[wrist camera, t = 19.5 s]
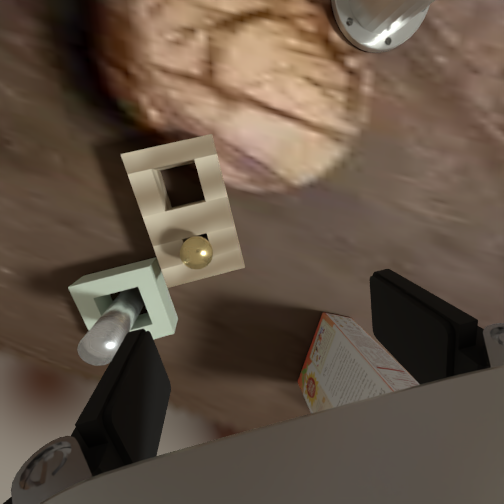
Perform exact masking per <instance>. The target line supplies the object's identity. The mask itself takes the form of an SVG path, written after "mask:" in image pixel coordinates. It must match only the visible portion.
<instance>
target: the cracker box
mask: <svg viewBox="0 0 504 504" xmlns="http://www.w3.org/2000/svg"><path fill="white" fill-rule="evenodd" d="M298 384H299V386H300V389H301V391H302V393H303V396H304V398H305V400H306V403H307V405H308V407H309V410H310V412H311V413H315V412H319V411H322V410H326V409H330V408H333V407H337V406H341V405H345V404H348V403H352V402H356V401H360V400H363V399H367V398H371V397H375V396H378V395H382V394H386V393H390V392H394V391H397V390H401V389H405V388H409V387H413V386H416V385H420V384H419V383H418V382H417V381H416V380H415V379H414V378H413V377H412V376H411V375H410V373H409V372H408V371H406V370H405V369H404V368H403V367H402V366H401V365H400V364H399V363H398V362H397V361H396V360H395V359H394V358H393V357H392V356H391V355H390V354H389V353H388V352H387V351H386V350H384V349H383V348H382V347H381V346H380V345H379V344H378V343H377V342H376V341H375V340H374V339H373V338H372V337H371V336H370V335H369V334H368V333H367V332H366V331H365V330H364V329H363V328H362V327H361V326H359V325H358V324H357V323H356V322H355V321H354V320H353V319H352V318H350V317H345V316H340V315H335V314H329V313H324V312H323V313H322V315H321V318H320V321H319V324H318V326H317V329H316V332H315V335H314V337H313V340H312V343H311V346H310V349H309V351H308V354H307V357H306V360H305V362H304V365H303V368H302V371H301V373H300V376H299V379H298Z"/></svg>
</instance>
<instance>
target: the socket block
mask: <svg viewBox="0 0 504 504" xmlns="http://www.w3.org/2000/svg"><path fill="white" fill-rule="evenodd" d="M121 157H122V160H123V163H124V166H125V169H126V171H127V174H128V177H129V180H130V183H131V186H132V188H133V191H134V194H135V197H136V200H137V203H138V205H139V208H140V211H141V214H142V217H143V220H144V222H145V225H146V228H147V231H148V234H149V237H150V239H151V242H152V245H153V248H154V251H155V254H156V256H157V259H158V262H159V265H160V268H161V271H162V273H163V276H164V279H165V282H166V285H167V288H169V287H172V286H176V285H180V284H184V283H188V282H191V281H195V280H199V279H203V278H207V277H210V276H214V275H218V274H222V273H226V272H229V271H233V270H237V269H241V268H245V265H244V261H243V257H242V253H241V249H240V245H239V241H238V237H237V233H236V229H235V225H234V221H233V217H232V213H231V209H230V205H229V201H228V197H227V193H226V189H225V185H224V180H223V176H222V172H221V168H220V164H219V160H218V156H217V152H216V148H215V144H214V140H213V136H212V134H210V135H205V136H201V137H196V138H192V139H187V140H183V141H178V142H174V143H169V144H165V145H160V146H155V147H151V148H146V149H142V150H137V151H133V152H128V153H124V154H121ZM191 163H195V164H196V168H197V171H198V175H199V179H200V182H201V186H202V190H203V193H204V197H205V199H204V200H200V201H196V202H192V203H188V204H184V205H179V206H175V207H172V206H171V203H170V200H169V197H168V194H167V191H166V187H165V184H164V181H163V178H162V175H161V172H160V171H161V170H165V169H170V168H174V167H178V166H183V165H187V164H191ZM205 233H207V236H208V240H209V242H210V244H211V245H212V249H213V257H212V260H211V262H210V263H209V265H207V266H206V267H205V268H202V269H191V268H188V267H187V266H185V265H184V264H183V262H182V261H181V258H180V249H181V247H182V245H183V243H184V242H185V240H187V239H188V238H189V237H193V236H197V235H201V234H205Z"/></svg>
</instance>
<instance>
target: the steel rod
mask: <svg viewBox="0 0 504 504" xmlns="http://www.w3.org/2000/svg"><path fill="white" fill-rule="evenodd" d="M144 305H145V303H144V301H143V298H142V296H141V293H140V290H139V288H138V287H135V288H131V289H127V290H123V291H122V292H121V293H120V294H119V295H118V297H117V298H116V299H115V300H114V301H113V303H112V304H111V305H110V306H109V307H108V309H107V310H106V311H105V312H104V313H103V315H102V316H101V317H100V318H99V319H98V321H97V322H96V323H95V324H94V325H93V327H92V328H91V329H90V330H89V331H88V333H87V334H86V335H85V336H84V337H83V339H82V340H81V341H80V343H79V345H78V354H79V356H80V357H81V358H82V360H84V361H85V362H87V363H89V364H91V365H105V364H108V363H109V362H111V361H112V359H113V357H114V355H115V354H116V352H117V350H118V348H119V347H120V345H121V343H122V341H123V340H124V338H125V336H126V334H127V333H128V332H129V331H130V330H131V328H132V326H133V324H134V322H135V321H136V319H137V317H138V315H139V313H140V312H141V310H142V308H143V306H144Z"/></svg>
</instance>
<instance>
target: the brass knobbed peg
mask: <svg viewBox="0 0 504 504" xmlns="http://www.w3.org/2000/svg"><path fill="white" fill-rule="evenodd" d="M212 257H213V249H212V245H211V244H210V242H209V240H208V236H207V234H206V233H205V234H201V235H197V236H193V237H190V238H188V239H187V240H185V242H184V243H183V245H182V247H181V249H180V258H181V261H182V262H183V264H184V265H185V266H187V267H188V268H191V269H202V268H205V267H206V266H207V265H209V263H210V262H211V260H212Z"/></svg>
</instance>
